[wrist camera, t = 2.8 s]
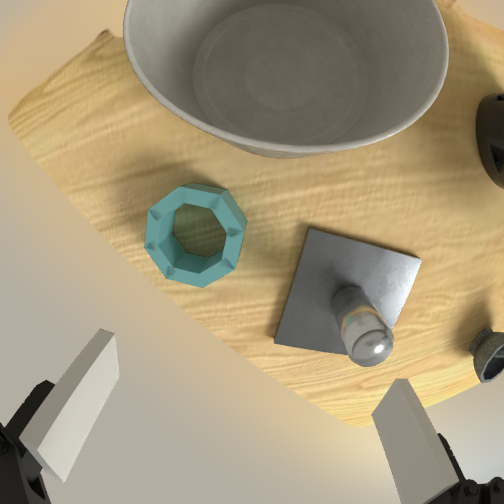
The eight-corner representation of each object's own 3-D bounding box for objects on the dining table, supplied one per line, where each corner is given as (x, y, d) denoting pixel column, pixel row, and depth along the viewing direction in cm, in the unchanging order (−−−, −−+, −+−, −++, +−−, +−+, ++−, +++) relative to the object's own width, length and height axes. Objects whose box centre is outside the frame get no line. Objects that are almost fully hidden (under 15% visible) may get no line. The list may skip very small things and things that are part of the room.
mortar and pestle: (474, 366, 38) (501, 403, 26) (455, 355, 37) (486, 397, 25) (507, 323, 34) (539, 354, 23) (492, 306, 33) (530, 341, 22)
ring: (169, 178, 30) (152, 181, 26) (253, 195, 31) (250, 201, 26) (158, 257, 34) (142, 272, 29) (234, 276, 34) (229, 294, 29)
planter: (388, 121, 27) (492, 98, 10) (245, 188, 30) (214, 222, 13) (309, -2, 22) (334, -96, 5) (171, 57, 26) (90, -13, 8)
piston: (308, 226, 31) (327, 258, 21) (418, 257, 32) (463, 292, 21) (273, 339, 36) (274, 396, 26) (374, 354, 37) (397, 404, 26)
